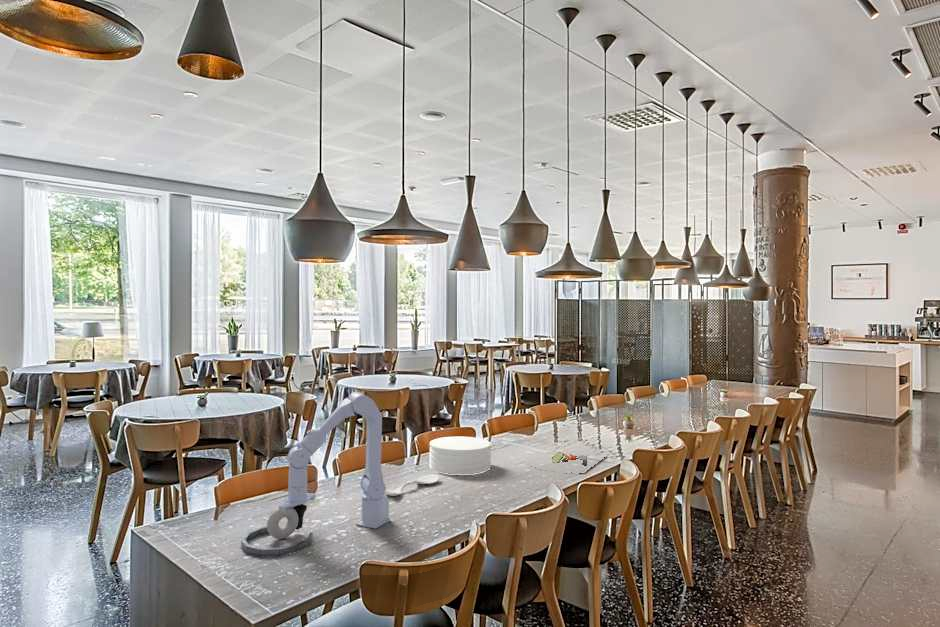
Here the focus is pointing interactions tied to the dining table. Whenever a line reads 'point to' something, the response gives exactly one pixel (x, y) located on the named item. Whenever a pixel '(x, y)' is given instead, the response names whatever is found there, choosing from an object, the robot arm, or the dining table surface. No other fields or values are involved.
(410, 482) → the spoon
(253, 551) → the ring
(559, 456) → the green red elongated piece
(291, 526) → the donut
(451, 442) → the plate stack
